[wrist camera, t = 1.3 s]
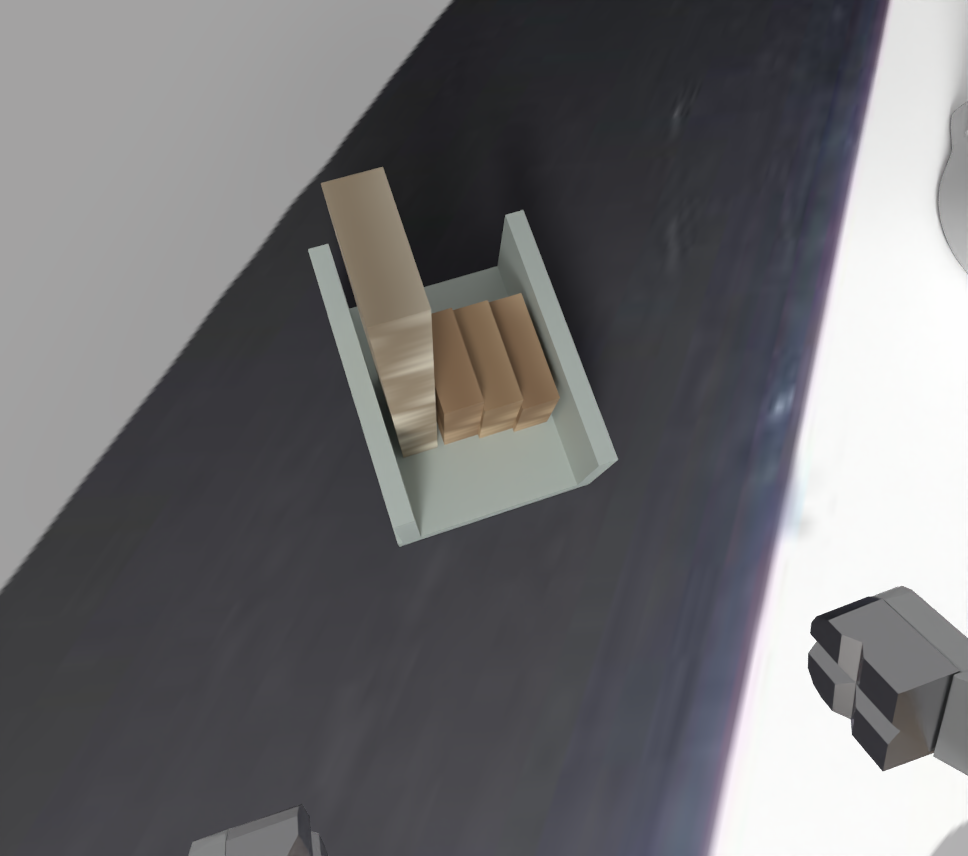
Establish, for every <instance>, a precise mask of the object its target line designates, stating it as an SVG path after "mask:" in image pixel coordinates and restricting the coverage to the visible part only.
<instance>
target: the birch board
mask: <svg viewBox="0 0 968 856" xmlns="http://www.w3.org/2000/svg"><path fill="white" fill-rule="evenodd" d="M321 186H322V189H323V192H324V196H325V199H326V203H327V206H328V209H329V213H330V216H331V219H332V223H333V226H334V230H335V233H336V236H337V240H338V243H339V246H340V250H341V253H342V257H343V260H344V263H345V267H346V270H347V274H348V277H349V280H350V284H351V287H352V290H353V294H354V297H355V301H356V304H357V307H358V311H359V314H360V318H361V321H362V324H363V328H364V331H365V334H366V338H367V341H368V345H369V348H370V351H371V355H372V358H373V361H374V365H375V368H376V372H377V375H378V378H379V381H380V385H381V388H382V391H383V394H384V397H385V400H386V404H387V407H388V410H389V413H390V416H391V419H392V423H393V426H394V429H395V432H396V435H397V438H398V442H399V445H400V448H401V451H402V454H403V457H404V458H405V457H408V456H411V455H414V454H418V453H421V452H424V451H427V450H430V449H433V448H437V447H438V443H437V422H436V401H435V380H434V360H433V339H432V318H431V307H430V304H429V301H428V298H427V296H426V293H425V290H424V287H423V284H422V281H421V278H420V275H419V272H418V269H417V266H416V263H415V260H414V257H413V254H412V251H411V248H410V245H409V242H408V239H407V237H406V234H405V231H404V228H403V225H402V222H401V219H400V216H399V213H398V210H397V207H396V204H395V201H394V198H393V195H392V192H391V189H390V186H389V183H388V181H387V178H386V175H385V172H384V169H383V167H380V168H376V169H373V170H369V171H365V172H361V173H357V174H354V175H350V176H346V177H342V178H339V179H335V180H331V181H327V182H323V183H321Z"/></svg>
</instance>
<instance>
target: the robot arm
mask: <svg viewBox="0 0 968 856" xmlns="http://www.w3.org/2000/svg"><path fill="white" fill-rule="evenodd" d="M951 138H952V152H951V156H950V159H949V161H948V163H947V166H946V168H945V171H944V173H943V176H942V179H941V184H940V190H939V213H940V219H941V224H942V227H943V231H944V234H945V237H946V239H947V241H948V244H949V246H950V248H951V250H952V252H953V253H954V255H955V257H956V258H957V260H958V261H959V263H960V264H961V266H962V267H963V268H964V270H965V271H966V272H967V273H968V101H967V102H966V103H964V104H963V105H962V106H961V107H959V108H958V109H957V110H955V111H954V113H953V115H952V118H951ZM810 634H811V635H812V636H813V637H814V638H815V639H816V641H817V642H816V643H815V645H814V646H813V647H812V649H811V650H810V652H809V653H808V669H809V672H810V675H811V678H812V681H813V684H814V686H815V688H816V689H817V691H818V693H819V694H820V696H821V698H822V699H823V700H824V701H825V703H826V704H827V705H828V706H829V707H830V709H831V710H832V711H834V712H836V713H838V714H840V715H843V716H845V717H847V718H849V719H851V728H852V735H853V736H854V738H855V739H856V740H857V741H858V742H859V744H860V745H861V746H862V747H863V748H864V750H865V751H866V752H867V753H868V754H869V755H870V757H871V758H872V759H873V760H874V761H875V763H876V764H877V765H878V766H879V767H880V769H881V770H882V771H885V770H888V769H891V768H894V767H896V766H899V765H902V764H905V763H907V762H910V761H913V760H915V759H918V758H921V757H924V756H926V755H929V754H932V753H934V755H933V756H934V757H935V758H937V759H939V760H941V761H943V762H944V763H946V764H948V765H950V766H952V767H953V768H955V769H957V770H959V771H961V772H962V773H964V774H966V775H968V638H967V637H966V636H965V635H963V634H962V633H961V632H960V631H959V630H958V629H957V628H955V627H954V626H953V625H952V624H951V623H950V622H948V621H947V620H946V619H945V618H944V617H943V616H941V615H940V614H939V613H938V612H937V611H936V610H935V609H933V608H932V607H931V606H930V605H929V604H928V603H926V602H925V601H924V600H923V599H922V598H921V597H919V596H918V595H917V594H916V593H915V592H914V591H912V590H911V589H909V588H906V587H904V586H900V587H895V588H893V589H890V590H887V591H885V592H882V593H880V594H877V595H875V596H872V597H866V598H864V599H861V600H858V601H856V602H853V603H851V604H848V605H845V606H843V607H840V608H837V609H835V610H832V611H830V612H827V613H824V614H822V615H819V616H817V617H816V618H815V619H814V620H813V621H812V623H811V632H810ZM188 856H328V854H327V851H326V848H325V845H324V843H323V841H322V839H321V837H320V835H319V834H318V833H315V832H312V831H311V826H310V816H309V814H308V813H307V811H306V809H305V808H304V806H303V804H300V805H298V806H295V807H292V808H289V809H286V810H283V811H280V812H277V813H274V814H272V815H269V816H266V817H263V818H260V819H257V820H254V821H251V822H249V823H246V824H243V825H240V826H237V827H234V828H230V829H227V830H224V831H222V832H219V833H216V834H213V835H211V836H208V837H205V838H202V839H200V840H197V841H194V842H193V843H192V846H191V849H190V852H189V855H188Z"/></svg>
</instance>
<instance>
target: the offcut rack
mask: <svg viewBox="0 0 968 856" xmlns="http://www.w3.org/2000/svg"><path fill="white" fill-rule="evenodd" d="M308 251H309V255H310V258H311V261H312V264H313V268H314V271H315V274H316V278H317V281H318V284H319V287H320V291H321V294H322V297H323V300H324V304H325V307H326V310H327V313H328V317H329V321H330V324H331V327H332V331H333V334H334V337H335V340H336V344H337V347H338V350H339V353H340V357H341V360H342V363H343V366H344V370H345V373H346V376H347V379H348V383H349V386H350V389H351V393H352V396H353V399H354V402H355V406H356V409H357V412H358V415H359V419H360V422H361V425H362V428H363V432H364V435H365V438H366V442H367V445H368V448H369V451H370V455H371V458H372V461H373V464H374V468H375V471H376V474H377V477H378V481H379V484H380V487H381V491H382V494H383V497H384V500H385V504H386V507H387V510H388V513H389V517H390V520H391V523H392V526H393V530H394V533H395V536H396V539H397V543H398V545H399V546H403V545H406V544H409V543H412V542H415V541H418V540H421V539H424V538H427V537H430V536H433V535H436V534H439V533H442V532H445V531H448V530H451V529H454V528H457V527H460V526H463V525H466V524H469V523H472V522H475V521H478V520H481V519H485V518H488V517H491V516H494V515H497V514H500V513H503V512H506V511H509V510H512V509H515V508H518V507H521V506H524V505H527V504H530V503H533V502H536V501H539V500H542V499H545V498H548V497H551V496H554V495H557V494H560V493H563V492H566V491H569V490H572V489H575V488H578V487H581V486H584V485H587V484H589V483H591V482H592V481H593V480H594V479H595V478H597V477H598V476H599V475H600V474H601V473H603V472H604V471H605V470H606V469H607V468H609V467H610V466H611V465H612V464H613V463H615V462H616V461H617V460H618V458H617V455H616V453H615V450H614V447H613V445H612V442H611V440H610V437H609V434H608V432H607V429H606V426H605V424H604V421H603V418H602V416H601V413H600V411H599V408H598V405H597V403H596V400H595V397H594V395H593V392H592V390H591V387H590V384H589V382H588V379H587V376H586V374H585V371H584V368H583V366H582V363H581V361H580V358H579V355H578V353H577V350H576V347H575V345H574V342H573V339H572V337H571V334H570V332H569V329H568V326H567V324H566V321H565V318H564V316H563V313H562V310H561V308H560V305H559V303H558V300H557V297H556V295H555V292H554V289H553V287H552V284H551V282H550V279H549V276H548V274H547V271H546V268H545V266H544V263H543V260H542V258H541V255H540V253H539V250H538V247H537V245H536V242H535V239H534V237H533V234H532V231H531V229H530V226H529V224H528V221H527V218H526V216H525V213H524V210H521V211H518V212H514V213H511V214H507V215H505V220H504V227H503V233H502V240H501V246H500V253H499V259H498V266H496V267H493V268H489V269H486V270H482V271H479V272H475V273H472V274H469V275H465V276H462V277H458V278H455V279H451V280H448V281H444V282H441V283H437V284H434V285H430V286H427V287H424V290H425V293H426V296H427V298H428V301H429V304H430V307H431V314H432V313H435V312H439V311H442V310H446V309H449V308H452V309H453V310H455V309H459V308H462V307H466V306H469V305H472V304H476V303H479V302H483V301H486V300H488V302H492V301H495V300H499V299H502V298H505V297H509V296H512V295H516V294H519V293H522V296H523V299H524V302H525V304H526V307H527V310H528V312H529V315H530V318H531V321H532V323H533V326H534V329H535V331H536V334H537V337H538V340H539V342H540V345H541V348H542V350H543V353H544V356H545V358H546V361H547V364H548V367H549V369H550V372H551V375H552V377H553V380H554V383H555V386H556V388H557V391H558V394H559V396H560V399H559V401H558V403H557V404H556V406H555V408H554V410H553V411H552V413H551V415H550V417H549V419H548V420H547V422H544V423H541V424H538V425H535V426H532V427H528V428H525V429H522V430H519V431H516V432H514V431H513V428H511V429H508V430H505V431H501V432H498V433H495V434H492V435H489V436H486V437H483V438H479V436H478V435H475V436H471V437H468V438H465V439H462V440H459V441H455V442H452V443H449V444H446V445H444V442H443V439H442V436H441V433H440V430H439V427H438V424H437V443H438V447H437V448H433V449H430V450H427V451H424V452H421V453H418V454H414V455H411V456H408V457H405V458H404V457H403V454H402V451H401V448H400V445H399V442H398V438H397V435H396V432H395V429H394V426H393V423H392V419H391V416H390V413H389V410H388V407H387V404H386V400H385V397H384V394H383V391H382V388H381V385H380V381H379V378H378V375H377V372H376V368H375V365H374V361H373V358H372V355H371V351H370V348H369V345H368V341H367V338H366V334H365V331H364V328H363V324H362V321H361V318H360V314H359V311H358V307H354V308H350V309H349V306H348V303H347V300H346V297H345V294H344V291H343V288H342V285H341V282H340V279H339V276H338V272H337V269H336V266H335V263H334V260H333V257H332V254H331V251H330V248H329V245H328V244H326V245H322V246H319V247H315V248H311V249H308ZM436 422H437V421H436Z"/></svg>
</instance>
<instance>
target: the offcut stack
mask: <svg viewBox="0 0 968 856" xmlns="http://www.w3.org/2000/svg"><path fill="white" fill-rule="evenodd" d="M431 318H432V339H433V360H434V380H435V401H436V421H437V424H438V427H439V430H440V433H441V436H442V439H443V442H444V445H446V444H449V443H452V442H455V441H459V440H462V439H465V438H468V437H471V436H475V435H478V436H479V438H483V437H486V436H489V435H492V434H495V433H498V432H501V431H505V430H508V429H511V428H513V431H514V432H516V431H519V430H522V429H525V428H528V427H532V426H535V425H538V424H541V423H544V422H547V420H548V419H549V417H550V415H551V413H552V411H553V410H554V408H555V406H556V404H557V403H558V401H559V399H560V396H559V394H558V391H557V388H556V386H555V383H554V380H553V377H552V375H551V372H550V369H549V367H548V364H547V361H546V358H545V356H544V353H543V350H542V348H541V345H540V342H539V340H538V337H537V334H536V331H535V329H534V326H533V323H532V321H531V318H530V315H529V312H528V310H527V307H526V304H525V302H524V299H523V296H522V293H519V294H516V295H512V296H509V297H505V298H502V299H499V300H495V301H492V302H488V300H486V301H483V302H479V303H476V304H472V305H469V306H466V307H462V308H459V309H455V310H453V309H452V308H449V309H446V310H442V311H439V312H435V313H432V314H431Z"/></svg>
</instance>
